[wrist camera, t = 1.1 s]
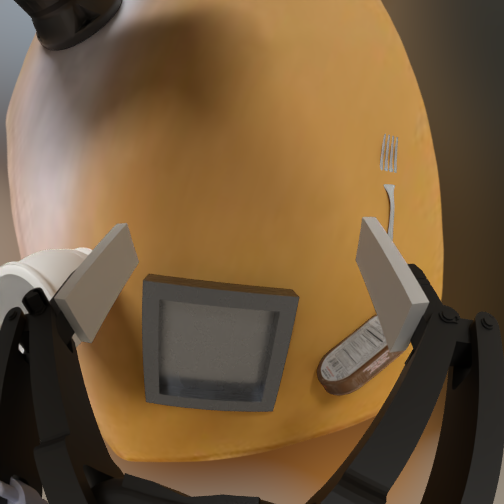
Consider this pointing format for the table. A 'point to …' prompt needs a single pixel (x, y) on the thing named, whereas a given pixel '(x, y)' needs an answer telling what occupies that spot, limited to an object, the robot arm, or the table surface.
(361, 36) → the table surface
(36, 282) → the jar
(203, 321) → the dark grey square tray
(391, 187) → the fork
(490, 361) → the robot arm
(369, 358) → the tin
